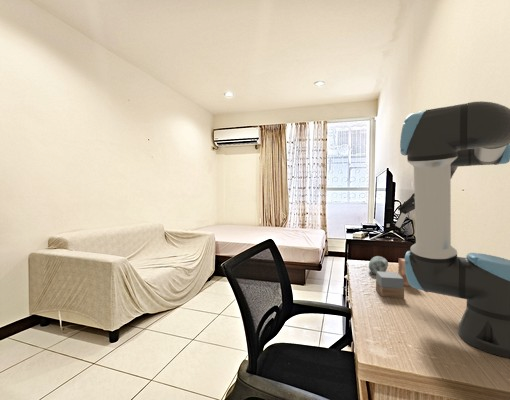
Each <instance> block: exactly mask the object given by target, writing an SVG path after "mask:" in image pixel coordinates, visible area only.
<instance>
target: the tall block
mask: <svg viewBox="0 0 510 400" xmlns="http://www.w3.org/2000/svg"><path fill="white" fill-rule="evenodd" d="M397 263H398V267H397V268H398V271H397V273H398V274H399V275H400V276H401V277H402V278H403V279H404V285H403V287H405V286H406V287H411V286H410V284H409V283H408V281H407V278H406V273H405V257H404V258H401V257H400V258H399V257H398V262H397Z"/></svg>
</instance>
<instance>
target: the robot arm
mask: <svg viewBox="0 0 510 400" xmlns="http://www.w3.org/2000/svg"><path fill="white" fill-rule="evenodd" d="M399 141H400V143H399V148H400V154H401V155H402V156H406V158H407V160H406V161H407V163H409V164H410V165H411V166H412V167H413V180H414V182H413V186H414V187H413V188H414V193H412V194H411V196H410V197H409V198H408V199H407V200H406V201H404V202H403V203H402V204H401V205H400V206H399V207H397V211H399V215H398V216H397V221H396V223H395V225H394V226H395V227H397V228H399V229H401V227H402V225H403V223H404V221H405V220H406V218H407V216H408V215H407V214H408V213H411V211H414V214H415V215H414V219H415V221H414V222H415V223H414V224H415V242H414V244H412V245H411V246H410V248H409V249H410V250H407V251H406V252H405V255H404V258H405V273H406V278H407V281H408V283H409V284H410V286H409V287H410V288H412V289H415V290H419V291H422V292H425V293H432V294H436V295H443V296H446V297H447V296H448V297H452V298H457V299H458V298H459V299H463V300H465V301H466V308H465V311H464V312H463V314H462V317H461V320H460V322H459V323H458V328H457V329H458V332H457V333H458V335H459V337H460V338H461V340H463V341H464V342H466V343H467V344H468V345H470V346H472V347H474V348H477V349H479V350H481V351H484V352H486V353H488V354H491V355H494V356H498V357H502V358H508V359H510V259H507V258H504V257H500V256H495V255H490V254H486V253H479V252H478V253H477V252H469V253H467V254H466V257H461V256H458V251H457V249H456V248H455V247H453V246H452V244H451V243H452V242H451V239H452V237H451V236H452V235H451V234H452V232H451V231H452V230H451V226H452V224H451V222H452V221H451V216H452V214H451V211H452V210H451V209H452V208H451V207H452V206H451V202H452V201H451V200H452V199H451V196H452V195H451V190H452V189H451V187H452V185H451V183H452V182H451V181H452V179H453V176H454V174H455V172H456V171H457V170H458V167H472V166H474V167H475V166H486V165H487V166H493V165H494V166H495V165H496V166H498V165H504V164H508V163H509V162H510V108H509V107H508V106H506V105H502V104H500V103H496V102H492V101H483V100H482V101H470V102H467V103H462V104H454V105H449V106H444V107H443V106H442V107H438V108H437V107H435V108H431V109H424V110H420V111H416V112H413V113H412V112H411V113H409V114H408V115H407V116H406V117H405V118H404V121H403V125H402V129H401V133H400V140H399Z"/></svg>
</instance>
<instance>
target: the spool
mask: <svg viewBox="0 0 510 400" xmlns="http://www.w3.org/2000/svg"><path fill="white" fill-rule="evenodd" d="M388 266H389V262H388V260H387V259H386V258H385V257H383V256H380V255H376V256H373V257H371V259H370V260H369V263H368V269H369V271H370V272H371V273H373V274H374V275H376V271H379V272H387V270H388Z"/></svg>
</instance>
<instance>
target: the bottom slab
mask: <svg viewBox="0 0 510 400" xmlns="http://www.w3.org/2000/svg"><path fill="white" fill-rule="evenodd" d="M375 290H376V292H377V293H378V295H380V296H381V297H382V298H391V299H392V298H394V299H404V298H405V288H404V287H403V289H400V288H385V287H381V286H380V285H379V284H378V282H377V281H376V280H375Z"/></svg>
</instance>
